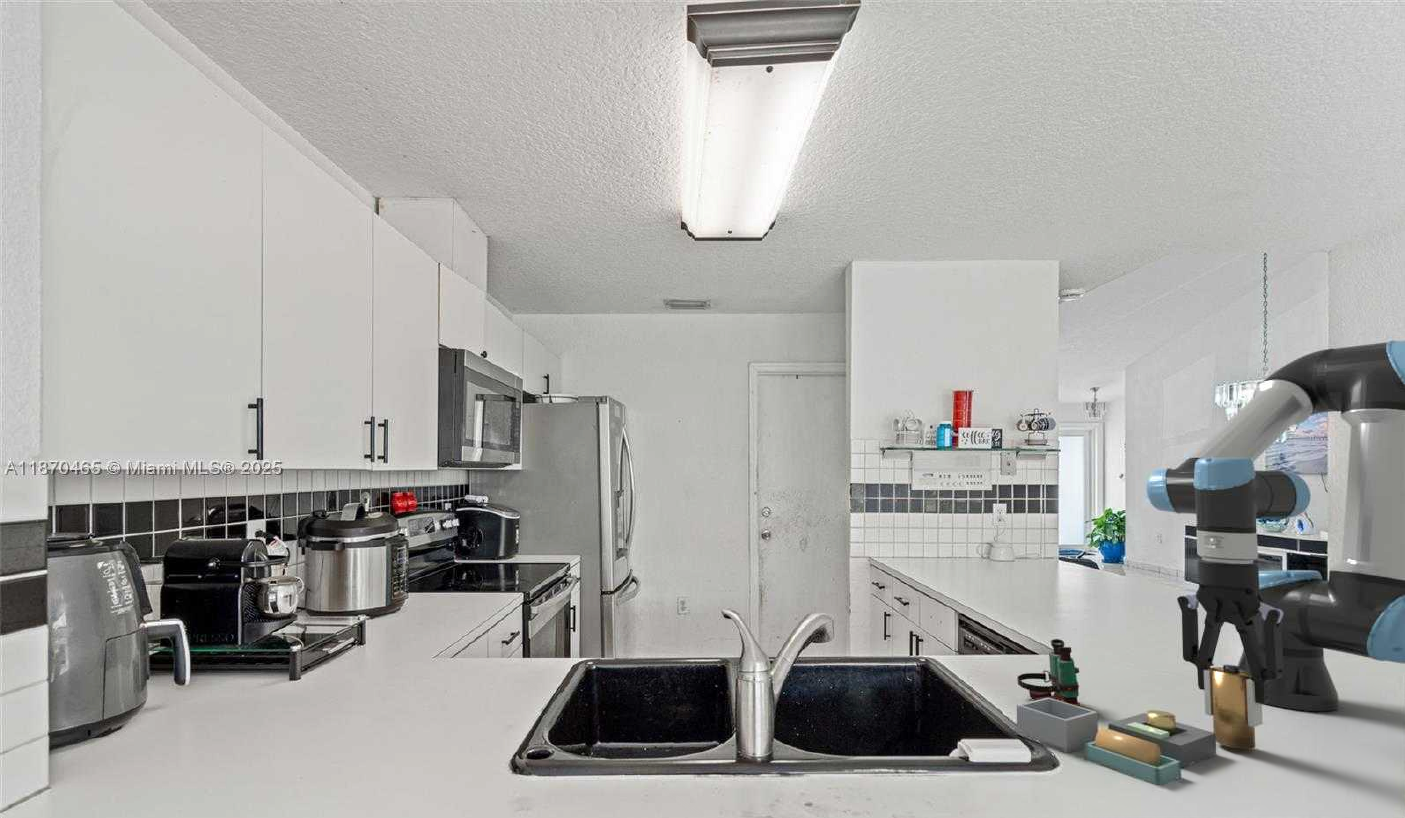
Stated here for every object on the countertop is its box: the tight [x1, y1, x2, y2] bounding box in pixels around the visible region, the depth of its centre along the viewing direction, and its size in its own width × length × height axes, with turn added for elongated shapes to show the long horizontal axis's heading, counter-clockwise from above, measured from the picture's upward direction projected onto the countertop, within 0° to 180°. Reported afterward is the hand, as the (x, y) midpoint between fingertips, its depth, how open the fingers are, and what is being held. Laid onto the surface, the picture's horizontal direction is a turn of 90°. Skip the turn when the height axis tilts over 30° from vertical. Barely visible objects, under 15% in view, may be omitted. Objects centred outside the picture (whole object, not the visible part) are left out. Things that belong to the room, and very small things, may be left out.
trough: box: [1083, 727, 1182, 786], centre depth 102 cm, size 6×10×4 cm, turn 32°
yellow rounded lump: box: [1146, 709, 1177, 736], centre depth 109 cm, size 4×4×2 cm
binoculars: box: [1016, 638, 1081, 707], centre depth 130 cm, size 9×11×10 cm
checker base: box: [1107, 712, 1217, 769], centre depth 109 cm, size 10×10×4 cm
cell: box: [1211, 664, 1256, 750], centre depth 111 cm, size 5×5×11 cm
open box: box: [1016, 698, 1099, 754], centre depth 112 cm, size 8×8×4 cm
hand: (1233, 718), depth 111 cm, fingers closed on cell, 5 cm apart
